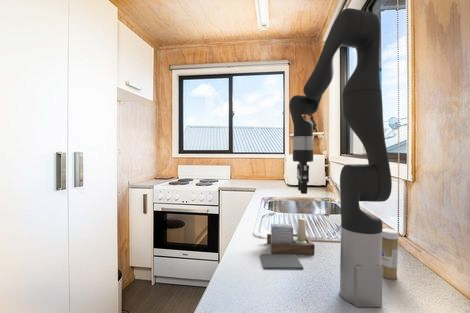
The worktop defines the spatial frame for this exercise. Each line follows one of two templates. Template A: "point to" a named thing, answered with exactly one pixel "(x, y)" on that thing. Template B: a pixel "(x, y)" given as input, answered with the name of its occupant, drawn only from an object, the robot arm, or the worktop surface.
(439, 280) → the worktop surface
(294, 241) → the sage rake
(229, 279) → the worktop surface
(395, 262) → the sprinkles bottle
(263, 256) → the charcoal mat
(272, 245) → the walnut cubby
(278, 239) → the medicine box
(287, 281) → the worktop surface
